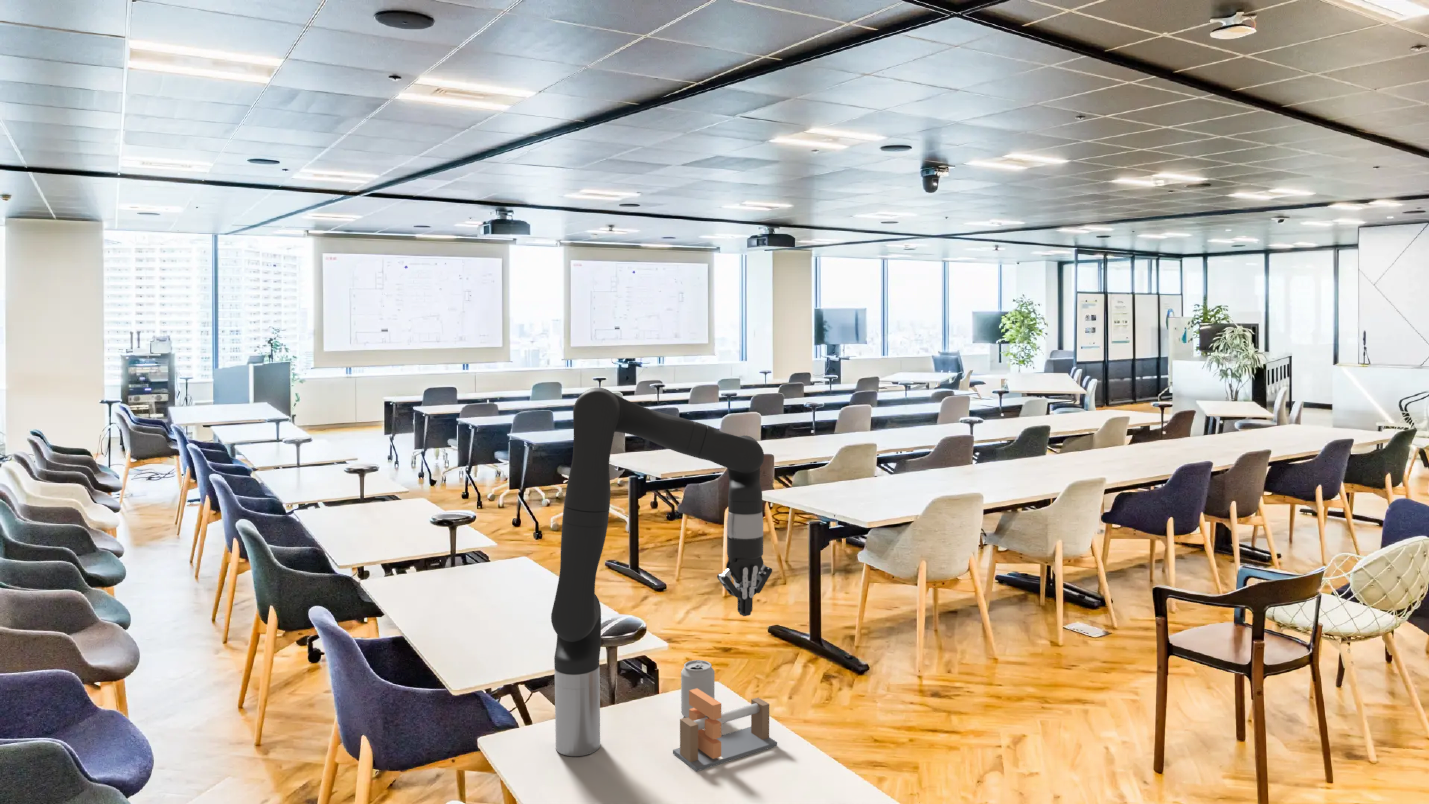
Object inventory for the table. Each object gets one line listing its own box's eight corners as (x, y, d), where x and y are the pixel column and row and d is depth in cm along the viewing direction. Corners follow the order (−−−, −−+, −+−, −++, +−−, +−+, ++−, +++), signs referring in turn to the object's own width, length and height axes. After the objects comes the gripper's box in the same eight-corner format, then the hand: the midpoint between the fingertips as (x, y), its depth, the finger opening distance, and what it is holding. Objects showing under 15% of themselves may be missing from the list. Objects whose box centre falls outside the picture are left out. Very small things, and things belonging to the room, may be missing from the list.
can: (677, 721, 202) (677, 668, 201) (686, 707, 210) (686, 656, 209) (710, 724, 201) (709, 671, 200) (717, 710, 208) (717, 659, 207)
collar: (712, 759, 182) (712, 705, 181) (689, 741, 189) (689, 690, 188) (721, 756, 183) (721, 703, 182) (697, 739, 190) (697, 688, 189)
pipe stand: (696, 771, 179) (696, 731, 179) (672, 753, 187) (672, 714, 186) (777, 745, 190) (777, 707, 190) (751, 729, 198) (752, 693, 197)
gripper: (760, 525, 195) (760, 604, 196) (708, 533, 188) (708, 615, 189) (781, 532, 188) (781, 614, 190) (728, 540, 181) (728, 625, 183)
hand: (744, 614), depth 189 cm, fingers closed
